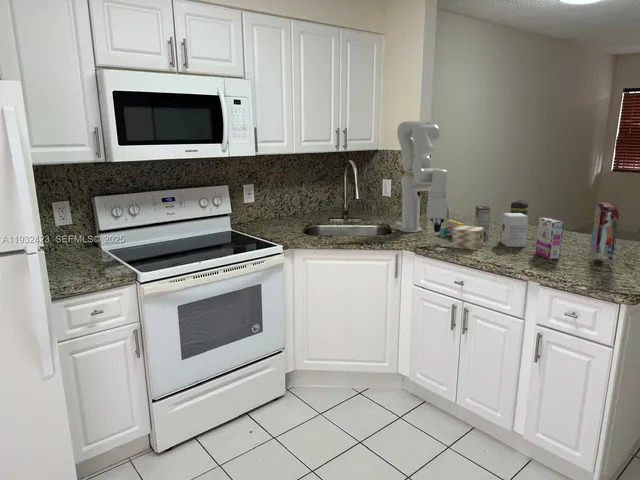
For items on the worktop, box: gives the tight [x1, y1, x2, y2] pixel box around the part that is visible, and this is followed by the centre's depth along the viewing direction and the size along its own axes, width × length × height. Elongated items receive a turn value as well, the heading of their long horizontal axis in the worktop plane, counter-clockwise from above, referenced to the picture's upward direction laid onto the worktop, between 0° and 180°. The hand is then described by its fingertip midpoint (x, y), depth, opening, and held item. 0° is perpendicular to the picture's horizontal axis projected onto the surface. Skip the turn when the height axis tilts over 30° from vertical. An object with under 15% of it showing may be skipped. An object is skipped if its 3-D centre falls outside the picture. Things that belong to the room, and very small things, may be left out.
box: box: [589, 201, 620, 270], centre depth 188 cm, size 25×6×24 cm, turn 156°
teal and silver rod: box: [439, 225, 453, 238], centre depth 219 cm, size 18×4×4 cm, turn 57°
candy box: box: [442, 219, 465, 237], centre depth 240 cm, size 16×2×8 cm, turn 19°
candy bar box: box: [535, 217, 564, 260], centre depth 197 cm, size 11×5×16 cm, turn 5°
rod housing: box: [451, 225, 484, 251], centre depth 217 cm, size 12×10×9 cm
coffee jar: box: [509, 199, 529, 216], centre depth 237 cm, size 10×8×19 cm
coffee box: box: [474, 205, 491, 241], centre depth 234 cm, size 9×6×16 cm
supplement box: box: [500, 212, 529, 248], centre depth 218 cm, size 9×9×15 cm
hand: (437, 231), depth 225 cm, fingers closed
